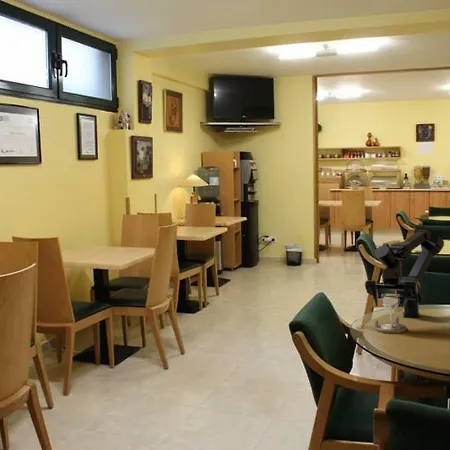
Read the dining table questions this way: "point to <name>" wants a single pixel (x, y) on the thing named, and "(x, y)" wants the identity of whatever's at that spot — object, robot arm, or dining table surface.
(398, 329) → the glass stand
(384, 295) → the wineglass
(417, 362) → the dining table surface
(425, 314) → the dining table surface
